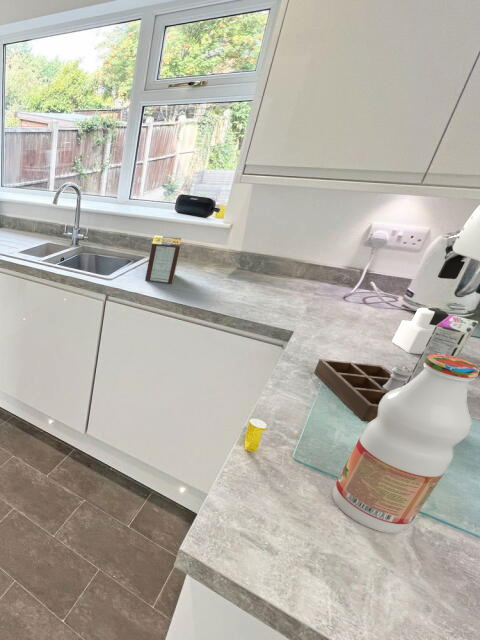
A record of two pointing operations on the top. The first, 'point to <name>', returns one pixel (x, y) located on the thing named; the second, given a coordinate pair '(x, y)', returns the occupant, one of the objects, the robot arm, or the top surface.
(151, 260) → the protein box
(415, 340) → the medicine bottle
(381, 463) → the fruit juice
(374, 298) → the top surface
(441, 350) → the candy bar box
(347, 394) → the grid
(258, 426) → the yellow pill bottle
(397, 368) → the rook chess piece
